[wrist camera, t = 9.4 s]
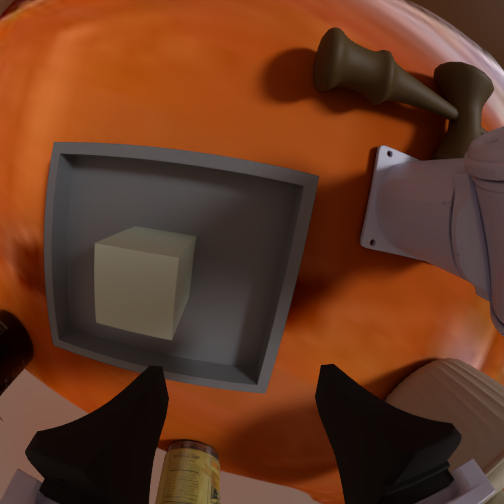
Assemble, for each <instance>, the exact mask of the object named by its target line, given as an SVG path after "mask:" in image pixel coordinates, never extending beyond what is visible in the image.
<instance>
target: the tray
mask: <svg viewBox="0 0 504 504" xmlns="http://www.w3.org/2000/svg"><path fill="white" fill-rule="evenodd" d="M318 179H319V176H317V175H313V174H309V173H305V172H301V171H296V170H292V169H287V168H283V167H278V166H273V165H269V164H264V163H259V162H254V161H248V160H243V159H237V158H231V157H225V156H219V155H213V154H206V153H200V152H192V151H185V150H177V149H168V148H159V147H149V146H138V145H125V144H109V143H85V142H54V145H53V151H52V156H51V162H50V169H49V176H48V185H47V194H46V206H45V223H44V268H45V286H46V297H47V307H48V315H49V322H50V329H51V335H52V341H53V345H55V346H57V347H60V348H62V349H65V350H68V351H70V352H73V353H76V354H79V355H81V356H84V357H87V358H90V359H93V360H96V361H99V362H103V363H106V364H109V365H113V366H116V367H120V368H123V369H127V370H130V371H134V372H138V373H142V372H143V371H144V370H145V369H147V368H148V367H149V366H150V365H151V366H162V367H163V372H164V377H165V379H168V380H173V381H178V382H183V383H189V384H194V385H200V386H207V387H213V388H220V389H228V390H236V391H245V392H255V393H266V390H267V387H268V383H269V380H270V377H271V373H272V370H273V366H274V363H275V360H276V356H277V353H278V349H279V345H280V342H281V338H282V335H283V331H284V327H285V324H286V320H287V316H288V312H289V308H290V304H291V301H292V297H293V293H294V289H295V285H296V281H297V276H298V272H299V268H300V264H301V260H302V255H303V251H304V247H305V242H306V238H307V233H308V228H309V224H310V219H311V214H312V210H313V205H314V200H315V195H316V190H317V185H318ZM134 226H137V227H143V228H150V229H156V230H162V231H169V232H175V233H181V234H187V235H194V236H197V237H196V244H195V251H194V259H193V267H192V275H191V284H190V293H189V299H188V301H187V303H186V306H185V308H184V311H183V313H182V316H181V318H180V321H179V323H178V326H177V329H176V331H175V334H174V336H173V339H172V340H168V339H163V338H158V337H153V336H149V335H144V334H140V333H135V332H131V331H127V330H123V329H119V328H115V327H111V326H107V325H103V324H100V323H96V315H95V293H94V254H95V243H96V242H98V241H101V240H103V239H105V238H108V237H110V236H112V235H115V234H117V233H119V232H122V231H124V230H127V229H129V228H132V227H134Z"/></svg>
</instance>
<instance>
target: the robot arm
mask: <svg viewBox="0 0 504 504" xmlns="http://www.w3.org/2000/svg"><path fill="white" fill-rule="evenodd" d="M387 152H389V153H390V157H389V156H388V155H387ZM372 239H373V244H372V245H370V241H371V240H372ZM360 244H361V246H363V247H365V248H369V249H373V250H378V251H383V252H387V253H392V254H396V255H401V256H405V257H410V258H414V259H419V260H423V261H426V262H428V263H430V264H433V265H435V266H437V267H439V268H441V269H443V270H446V271H448V272H450V273H452V274H454V275H456V276H458V277H460V278H462V279H464V280H467V281H469V282H470V283H472V284H473V285H474V287H475V289H476V294H477V295H478V296H480V297H482V298H484V299H486V300H487V301H489V302H490V315H491V319H492V322H493V324H494V326H495V327H496V329H497V331H498V332H499V333H500V334H501V335H502V336H504V127H501V128H497V129H494V130H492V131H489V132H487V133H485V134H483V135H481V136H479V137H477V138H476V139H474V140H473V141H472V142H471V144H470V146H469V149H468V151H467V152H466V154H465V156H464V158H456V159H440V160H427V161H420V160H418V159H416V158H414V157H411V156H409V155H407V154H404V153H402V152H400V151H397V150H395V149H392V148H390V147H387V146H384V145H383V146H379V147H378V149H377V153H376V160H375V167H374V173H373V178H372V184H371V190H370V195H369V200H368V205H367V210H366V215H365V219H364V224H363V228H362V233H361V237H360ZM315 399H316V404H317V408H318V412H319V415H320V418H321V421H322V423H323V426H324V428H325V431H326V433H327V436H328V438H329V441H330V443H331V446H332V448H333V451H334V454H335V457H336V461H337V465H338V469H339V474H340V478H341V483H342V488H343V494H344V500H345V504H481V503H483V502H484V501H485V500H486V499H487V498H488V497H490V496H491V495H492V494H493V493H494V492H495V488H494V487H493V485H492V484H491V483H490V481H489V480H488V478H487V477H486V476H485V474H484V473H483V471H482V470H481V469H480V467H479V466H478V464H477V463H476V462H475V460H474V459H470V460H469V461H467V462H466V463H464V464H462V465H461V466H459V467H457V468H456V469H454V470H453V471H452V472H451V473H450V472H449V470H448V468H449V467H450V464H449V462H448V461H447V460H448V459H449V458H450V456H451V455H452V454H453V453H454V451H455V450H456V449H457V447H458V446H459V444H460V442H461V439H462V435H461V434H460V433H459V431H458V430H457V429H456V428H455V426H454V425H453V424H452V423H448V422H441V421H435V420H431V419H427V418H423V417H419V416H416V415H413V414H411V413H408V412H405V411H403V410H401V409H398V408H396V407H394V406H392V405H390V404H388V403H386V402H384V401H383V400H381V399H379V398H378V397H376V396H375V395H373V394H372V393H370V392H369V391H367V390H366V389H364V388H363V387H362V386H360V385H359V384H358V383H356V382H355V381H354V380H353V379H351V378H350V377H349V376H348V375H346V374H345V373H344V372H343V371H342V370H340V369H339V368H338V367H337V366H335V365H334V364H328V365H321V368H320V374H319V379H318V384H317V389H316V394H315ZM168 401H169V397H168V392H167V387H166V382H165V377H164V372H163V367H162V366H151V365H150V366H149V367H148V368H147V369H145V370H144V371H143V372H142V373H141V374H140V375H139V376H138V377H137V378H136V379H135V380H134V381H133V382H132V383H131V384H130V385H128V386H127V387H126V388H125V389H124V390H123V391H122V392H120V393H119V394H118V395H117V396H115V397H114V398H113V399H112V400H110V401H109V402H108V403H106V404H105V405H103V406H102V407H100V408H98V409H97V410H95V411H93V412H92V413H90V414H88V415H86V416H84V417H82V418H80V419H78V420H75V421H73V422H70V423H68V424H65V425H62V426H59V427H55V428H51V429H47V430H43V431H37V433H36V434H35V436H34V437H33V439H32V441H31V442H30V444H29V445H28V447H27V449H26V450H25V454H26V456H27V458H28V460H29V461H30V463H31V464H32V465H33V466H34V467H35V468H36V470H37V471H38V472H39V473H40V474H41V475H42V476H43V477H44V478H45V479H44V481H43V483H41V482H40V481H39V480H37V479H36V478H34V477H32V476H30V475H28V474H26V473H25V472H23V471H21V470H20V469H17V470H16V472H15V474H14V476H13V478H12V479H11V481H10V483H9V485H8V487H7V489H6V491H5V493H4V495H3V497H2V499H1V501H0V504H149V493H150V482H151V474H152V467H153V460H154V456H155V451H156V448H157V445H158V441H159V438H160V435H161V432H162V428H163V425H164V422H165V418H166V414H167V408H168Z"/></svg>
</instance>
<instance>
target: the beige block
mask: <svg viewBox="0 0 504 504" xmlns="http://www.w3.org/2000/svg"><path fill="white" fill-rule="evenodd" d="M196 237H197V236H194V235H187V234H181V233H175V232H169V231H162V230H156V229H150V228H143V227H137V226H134V227H132V228H129V229H127V230H124V231H122V232H119V233H117V234H115V235H112V236H110V237H108V238H105V239H103V240H101V241H98V242H96V243H95V254H94V293H95V315H96V323H100V324H103V325H107V326H111V327H115V328H119V329H123V330H127V331H131V332H135V333H140V334H144V335H149V336H153V337H158V338H163V339H168V340H172V339H173V336H174V334H175V331H176V329H177V326H178V323H179V321H180V318H181V316H182V313H183V311H184V308H185V306H186V303H187V301H188V299H189V293H190V284H191V275H192V267H193V259H194V251H195V244H196Z"/></svg>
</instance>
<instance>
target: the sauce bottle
mask: <svg viewBox="0 0 504 504" xmlns="http://www.w3.org/2000/svg"><path fill="white" fill-rule="evenodd" d="M155 504H220V463H219V459H218V455H217V453H216V451H215V450H214V449H213V448H212V447H211V446H207V445H205V444H203V443H200V442H195V441H185V440H183V441H176V442H175V443H173V444H172V445H171V446H170V447H169V448H168V450H167V453H166V455H165V458H164V463H163V468H162V472H161V477H160V482H159V487H158V492H157V497H156V503H155Z"/></svg>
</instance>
